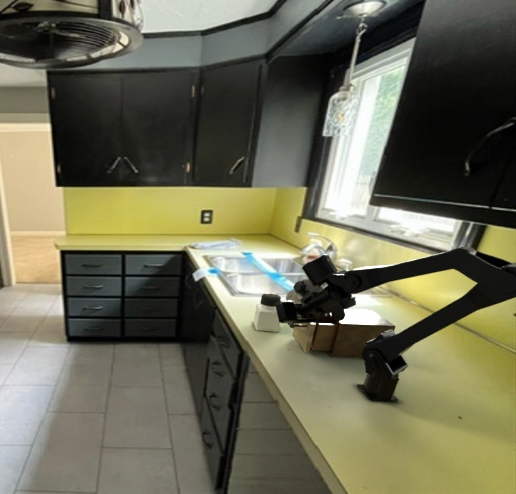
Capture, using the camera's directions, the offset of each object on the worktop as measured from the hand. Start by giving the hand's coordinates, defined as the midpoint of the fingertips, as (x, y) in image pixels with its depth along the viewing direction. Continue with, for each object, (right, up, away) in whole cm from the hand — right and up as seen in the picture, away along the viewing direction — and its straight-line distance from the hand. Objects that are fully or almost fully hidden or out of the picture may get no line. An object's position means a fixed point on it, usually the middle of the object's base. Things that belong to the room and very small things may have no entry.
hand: (293, 321), depth 110 cm
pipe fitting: (+16, +5, +31) cm, 35 cm away
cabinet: (+18, -8, +3) cm, 20 cm away
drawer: (+7, -7, +3) cm, 11 cm away
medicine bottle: (-2, -1, +17) cm, 17 cm away
